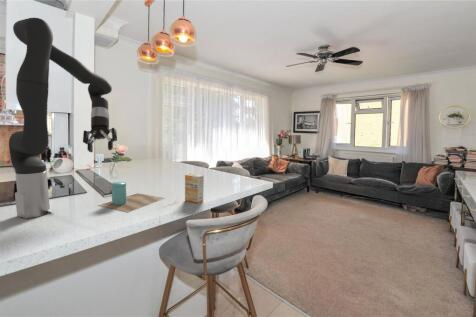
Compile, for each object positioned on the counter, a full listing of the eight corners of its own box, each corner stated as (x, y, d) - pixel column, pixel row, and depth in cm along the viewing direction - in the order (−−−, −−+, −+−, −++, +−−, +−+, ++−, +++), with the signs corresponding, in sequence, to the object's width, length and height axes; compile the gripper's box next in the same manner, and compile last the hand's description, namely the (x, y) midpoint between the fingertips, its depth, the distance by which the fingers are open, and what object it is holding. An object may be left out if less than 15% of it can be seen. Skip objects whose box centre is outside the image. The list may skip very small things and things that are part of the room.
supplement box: (184, 200, 115) (184, 174, 114) (190, 198, 120) (190, 173, 118) (197, 203, 111) (197, 176, 110) (203, 200, 116) (203, 174, 114)
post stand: (127, 216, 94) (126, 195, 93) (97, 208, 101) (96, 189, 100) (165, 201, 114) (164, 184, 113) (137, 195, 121) (137, 179, 120)
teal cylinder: (118, 205, 101) (117, 185, 100) (109, 203, 104) (107, 183, 103) (129, 201, 107) (129, 182, 106) (120, 200, 109) (119, 181, 108)
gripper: (79, 116, 108) (79, 150, 104) (112, 113, 110) (112, 146, 106) (88, 123, 115) (88, 154, 112) (118, 120, 117) (119, 151, 113)
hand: (100, 150), depth 109 cm, fingers open, 8 cm apart
